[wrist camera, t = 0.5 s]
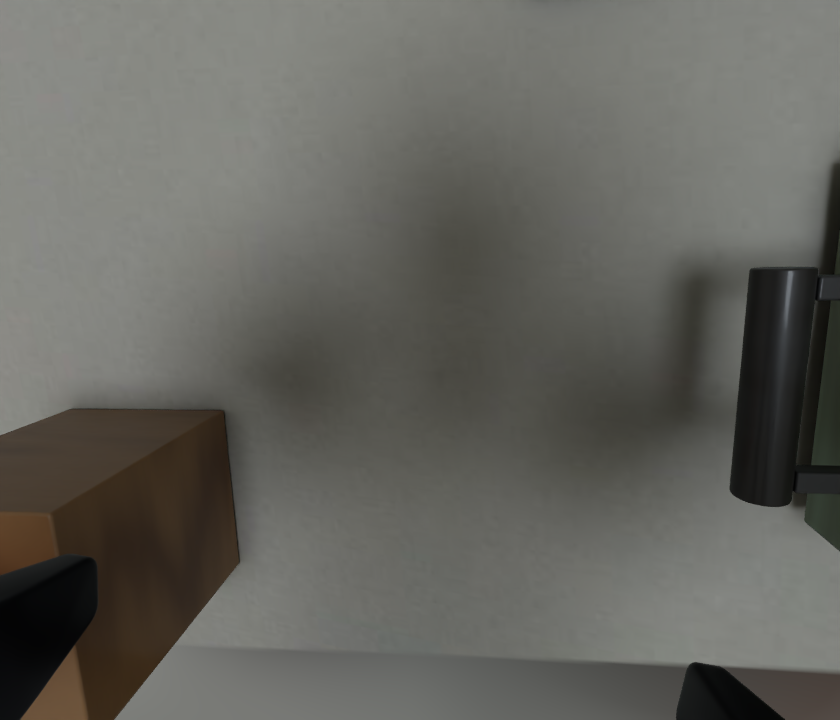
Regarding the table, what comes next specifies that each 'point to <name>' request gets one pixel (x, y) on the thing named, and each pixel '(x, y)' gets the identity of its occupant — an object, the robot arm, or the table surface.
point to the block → (120, 536)
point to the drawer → (788, 396)
